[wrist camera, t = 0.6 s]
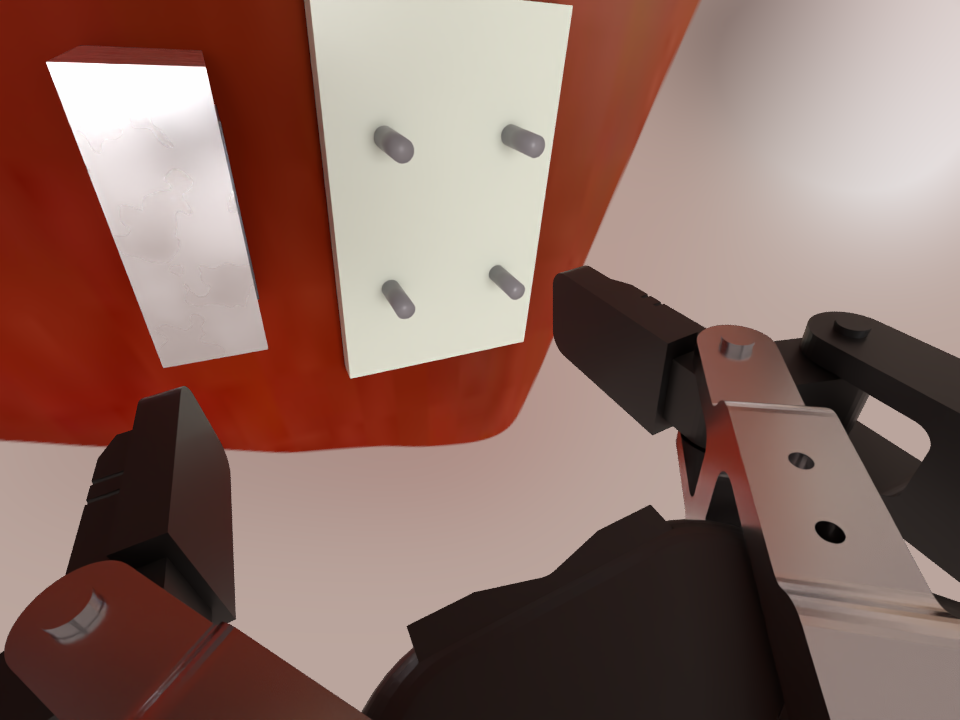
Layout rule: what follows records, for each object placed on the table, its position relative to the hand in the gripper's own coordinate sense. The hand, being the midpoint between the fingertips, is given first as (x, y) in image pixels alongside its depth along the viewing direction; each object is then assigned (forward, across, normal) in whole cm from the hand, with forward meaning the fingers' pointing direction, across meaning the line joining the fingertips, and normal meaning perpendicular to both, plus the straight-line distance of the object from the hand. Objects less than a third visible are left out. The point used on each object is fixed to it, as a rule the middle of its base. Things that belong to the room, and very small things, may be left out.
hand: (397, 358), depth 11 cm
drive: (+21, +5, 0) cm, 21 cm away
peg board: (+21, -8, +4) cm, 23 cm away
